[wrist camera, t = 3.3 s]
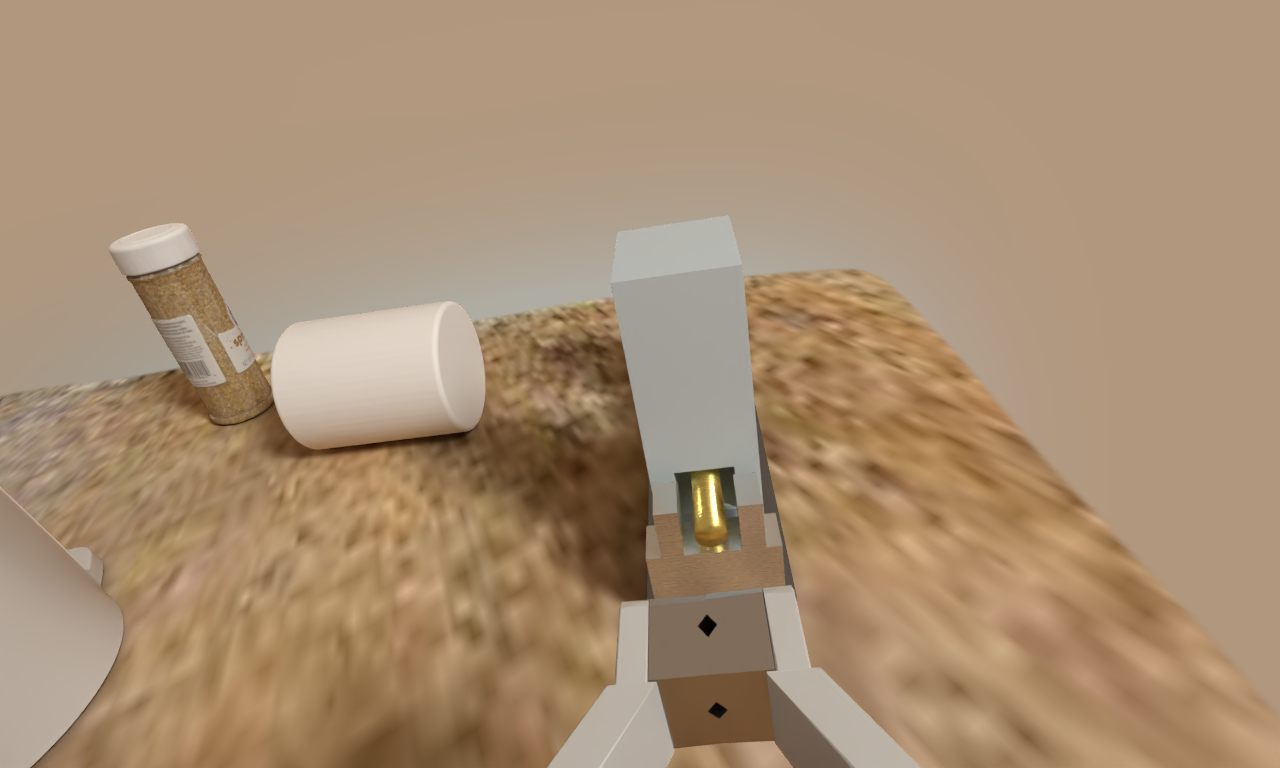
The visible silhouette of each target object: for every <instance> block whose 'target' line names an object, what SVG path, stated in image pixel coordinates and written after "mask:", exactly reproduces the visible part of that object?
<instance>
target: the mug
mask: <svg viewBox="0 0 1280 768" xmlns="http://www.w3.org/2000/svg"><path fill="white" fill-rule="evenodd" d="M270 374H271V388H272V394H273V399H274V403H275V406H276V409H277V412H278V414H279V417H280V419H281V421H282V423H283V424H284V426H285V428H286V429H287V431H288V432H289V433H290V434H291V436H292V437H293V438H294V439H295V440H296V441H298V442H299V443H300V444H302V445H304V446H306V447H308V448H311V449H328V448H336V447H344V446H352V445H361V444H369V443H377V442H385V441H394V440H402V439H410V438H418V437H427V436H435V435H443V434H451V433H460V432H467V431H470V430H472V429H473V428H475V426H476V425H477V424H478V422H479V420H480V418H481V415H482V412H483V407H484V401H485V371H484V363H483V357H482V352H481V348H480V344H479V340H478V337H477V334H476V331H475V329H474V326H473V324H472V322H471V320H470V318H469V316H468V315H467V313H466V312H465V310H464V309H463V308H462V307H461V306H459V304H457V303H455V302H452V301H444V302H437V303H431V304H423V305H417V306H409V307H402V308H396V309H389V310H381V311H375V312H367V313H360V314H353V315H346V316H339V317H332V318H325V319H318V320H311V321H304V322H298V323H295V324H293V325H291V326H289V327H288V328H287V329H286V330H285V331H284V332H283V333H282V334H281V336H280V337H279V339H278V341H277V343H276V345H275V348H274V351H273V355H272V361H271V373H270Z"/></svg>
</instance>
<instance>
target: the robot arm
mask: <svg viewBox="0 0 1280 768" xmlns="http://www.w3.org/2000/svg"><path fill="white" fill-rule="evenodd" d="M102 576H103V561H102V560H101V559H100V558H99V557H98V556H97V555H96V554H95V553H94V552H93V551H92V550H91V549H89V548H87V547H78V548H73V549H68V550H66V549H65V548H64V547H63V546H62V545H61V544H60V543H59V542H58V541H57V540H56V539H55V538H54V537H53V536H52V535H51V534H50V533H49V532H48V531H47V530H46V529H44V528H43V527H42V526H41V525H40V524H39V523H38V522H37V521H36V520H35V519H34V518H33V517H32V516H31V515H30V514H29V513H28V512H27V511H26V510H25V509H23V508H22V507H21V506H20V505H19V504H18V503H17V502H16V501H15V500H14V499H13V498H12V497H11V496H10V495H9V494H7V493H6V492H5V491H4V490H3V489H2V488H1V487H0V768H30V767H31V766H32V765H34V764H35V763H36V762H37V761H38V760H39V759H40V758H41V757H42V756H43V755H44V754H45V753H46V752H47V751H48V750H49V749H50V748H51V747H52V746H53V745H54V744H55V743H56V742H57V741H58V739H59V738H60V737H61V736H62V735H63V734H64V733H65V732H66V731H67V730H68V728H69V727H70V726H71V725H72V724H73V723H74V721H75V720H76V719H77V718H78V717H79V715H80V714H81V713H82V712H83V710H84V709H85V708H86V706H87V705H88V704H89V702H90V701H91V700H92V698H93V697H94V695H95V694H96V692H97V691H98V689H99V688H100V686H101V685H102V683H103V682H104V680H105V678H106V676H107V675H108V673H109V671H110V669H111V667H112V665H113V663H114V661H115V659H116V656H117V654H118V651H119V648H120V645H121V641H122V637H123V626H124V623H123V616H122V613H121V610H120V608H119V606H118V604H117V603H116V602H115V601H114V600H113V599H112V598H111V597H110V596H109V595H108V594H106V593H105V591H104V590H103V588H102V586H101V582H102ZM757 741H775V744H776V745H777V746H778V748H779V749H780V750H781V752H782V753H783V754H784V756H785V757H786V758H787V760H788V761H789V762H790V764H791V765H792V766H793V768H921V767H920V766H919V765H918V764H917V763H916V762H915V761H914V760H913V759H912V758H911V757H910V756H909V755H908V754H907V753H906V752H905V751H904V750H903V749H902V748H901V747H900V746H899V745H898V744H897V743H896V742H895V741H894V740H893V739H892V738H891V737H890V736H889V735H888V734H887V733H886V732H885V731H884V730H883V729H882V728H881V727H880V726H879V725H878V724H877V723H876V722H875V721H874V720H873V719H872V718H871V717H870V716H869V715H868V714H867V713H866V712H865V711H864V710H863V709H862V708H861V707H860V706H859V705H858V704H857V703H856V702H855V701H854V700H853V699H852V698H851V697H850V696H849V695H848V694H847V693H846V692H845V691H843V690H842V689H841V688H840V687H839V686H838V685H837V684H836V683H835V682H834V681H833V680H832V679H831V678H830V677H829V676H828V675H827V674H826V673H825V672H824V671H823V670H822V669H821V668H820V667H813V668H811V665H810V661H809V656H808V652H807V647H806V642H805V638H804V633H803V629H802V624H801V619H800V615H799V610H798V606H797V601H796V596H795V592H794V589H793V587H792V586H791V585H788V586H778V587H769V588H763V590H762V588H755V589H747V590H738V591H729V592H720V593H711V594H706V595H700V596H687V597H673V598H660V599H650V600H638V601H626V602H622V603H621V606H620V609H619V621H618V637H617V653H616V669H615V685H609V686H606V687H605V688H604V690H603V691H602V692H601V694H600V695H599V696H598V698H597V699H596V701H595V702H594V703H593V705H592V706H591V708H590V709H589V710H588V712H587V713H586V714H585V716H584V717H583V719H582V720H581V721H580V723H579V724H578V726H577V727H576V728H575V730H574V731H573V732H572V734H571V735H570V737H569V738H568V739H567V741H566V742H565V744H564V745H563V746H562V748H561V749H560V750H559V752H558V753H557V755H556V756H555V757H554V759H553V760H552V761H551V763H550V764H549V766H548V767H547V768H667V766H668V764H669V762H670V760H671V758H672V756H673V754H674V748H682V747H692V746H701V745H711V744H720V743H737V742H757Z"/></svg>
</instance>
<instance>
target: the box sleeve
mask: <svg viewBox="0 0 1280 768" xmlns="http://www.w3.org/2000/svg"><path fill="white" fill-rule="evenodd" d="M611 288H612V293H613V298H614V303H615V308H616V313H617V318H618V323H619V328H620V334H621V339H622V344H623V349H624V354H625V359H626V364H627V369H628V374H629V379H630V384H631V389H632V394H633V399H634V404H635V409H636V414H637V419H638V424H639V429H640V434H641V439H642V444H643V449H644V454H645V459H646V464H647V469H648V474H649V480H650V485H651V490H652V495H653V483H659V482H668V481H676V484H677V490H678V495H679V501H680V507H681V513H682V519H683V522H691V521H694V515H693V500H692V484H691V471H698V470H707V469H716V468H719V471H720V479H721V488H722V496H723V504H724V513H725V518H730V517H738V514H737V506H736V497H735V488H734V480H733V474H740V473H749V472H757V477H758V482H759V487H760V493H761V498H762V503H763V495H762V483H761V472H760V460H759V449H758V438H757V426H756V415H755V404H754V392H753V381H752V369H751V358H750V347H749V335H748V324H747V313H746V301H745V290H744V278H743V267H742V262H741V258H740V254H739V251H738V247H737V243H736V240H735V236H734V233H733V229H732V225H731V221H730V218H729V215H728V216H721V217H715V218H708V219H701V220H694V221H687V222H681V223H674V224H668V225H661V226H654V227H647V228H641V229H634V230H627V231H620V232H618V234H617V241H616V248H615V255H614V262H613V269H612V276H611ZM763 514H764V506H763Z"/></svg>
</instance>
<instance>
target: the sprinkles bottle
mask: <svg viewBox="0 0 1280 768" xmlns="http://www.w3.org/2000/svg"><path fill="white" fill-rule="evenodd" d="M199 251H200V248H199V246H198V244H197V242H196V240H195V238H194V236H193V234H192V233H191V231H190V229H189V228H188V226H187V225H185V224H181V223H172V224H165V225H160V226H155V227H152V228H148V229H145V230H141V231H138V232H135V233H133V234H130V235H127V236H125V237H123V238H120V239H119V240H117V241H115V242H113V243H112V244H111V245H110V247H109V252H110V254H111V255H112V257H113V259H114V261H115V263H116V265H117V266H118V268H119V270H120V271H121V273H122V274H123V275H126V276H127V277H126V278H127V279H128V281H130V282H131V283H132V284H133V286H134V288H135V290H136V292H137V293H138V295H139V297H140V298H141V300H142V301H143V303H144V305H145V307H146V309H147V310H148V312H149V313H150V315H151V319H152V321H153V322H154V324H155V326H156V327H157V329H158V331H159V332H160V334H161V336H162V337H163V339H164V341H165V342H166V344H167V346H168V347H169V349H170V351H171V352H172V354H173V355H174V357H175V359H176V360H177V362H178V363H179V365H180V367H181V369H182V370H183V372H184V373H185V375H186V377H187V378H188V380H189V382H190V383H191V384H192V385H193V386H194V387H195V389H196V391H197V393H198V394H199V396H200V397H201V399H202V401H203V402H204V404H205V406H206V408H207V409H208V411H209V413H210V414H209V416H210V418H211V420H212V421H213V422H214V423H216V424H222V425H227V424H236V423H240V422H244V421H246V420H248V419H250V418H253V417H255V416H257V415H259V414H261V413H262V412H264V411H265V410H266V409H267V408H268V407H270V406H271V404H272V403H273V402H274V399H273V394H272V388H271V386H270V385H269V383H268V381H267V380H266V378H265V376H264V374H263V372H262V370H261V368H260V366H259V365H258V363H257V361H256V360H255V356H254V354H253V352H252V350H251V348H250V346H249V345H248V343H247V341H246V339H245V337H244V336H243V334H242V332H241V330H240V328H239V326H238V324H237V322H236V321H235V319H234V317H233V315H232V313H231V311H230V309H229V307H228V306H227V304H226V302H225V300H224V299H223V298H222V296H221V294H220V293H219V291H218V289H217V287H216V285H215V283H214V281H213V280H212V278H211V275H210V274H209V273H208V270H207V268H206V266H205V264H204V262H203V261H202V259H201V254H200V253H198V252H199Z"/></svg>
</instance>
